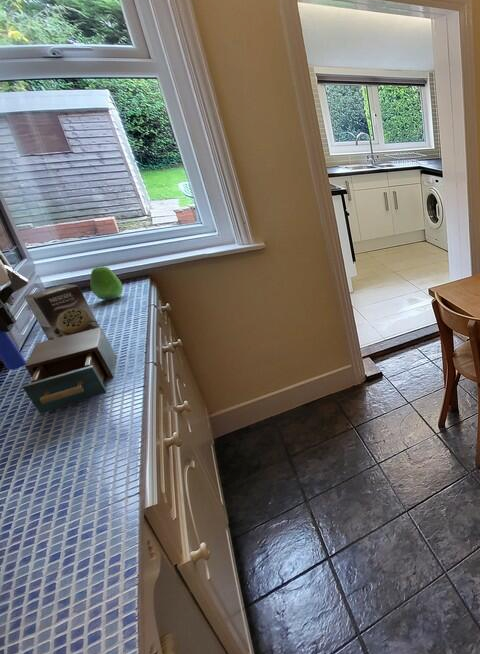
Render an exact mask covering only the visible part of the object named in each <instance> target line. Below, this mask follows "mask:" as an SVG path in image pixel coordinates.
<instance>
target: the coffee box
mask: <svg viewBox="0 0 480 654" xmlns="http://www.w3.org/2000/svg"><path fill="white" fill-rule="evenodd" d="M23 298H24V300H25V302H26V304H27V306H28V307H29V309H30V310H31V312H32V314H33V316H34V317H35V320H36V321H37V323H38V324H39V326H40V329H42V331H43V333H44V335H45V337H46V338H47V341H48V340H52V339H56V338H60V337H64V336H68V335H72V334H76V333H80V332H84V331H88V330H92V329H96V328H100V327H101V326H100V325H99V323H98V321H97V319H96V316H95V315H94V313H93V311H92V309H91V307H90V305H89V303H88V301H87V300H86V298H85V296H84V294H83V292H82V290H81V288H80V286H79V285H76V284H67V283H65V284H61V285H57V286H55V287H51V288H48V289H43V290H40V291H37V292H33V293H30V294H26V295H23Z"/></svg>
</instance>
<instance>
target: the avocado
mask: <svg viewBox="0 0 480 654" xmlns="http://www.w3.org/2000/svg"><path fill="white" fill-rule="evenodd" d="M89 284H90V285H89V287H90V290H91V291H92V293H93V295H94V296H95V297H97V298H98V299H100V300H103V301H111V300H112V301H113V300H115V299H118V298H119V297H120V296H121V295H122V293H123V283H122V281H121V280H120V279H119V277H118V276H117V275H116V274H115V273H114V272H113V271H112V270H111V268H109V267H107V266H96V267H94V268H93V269H92V270H91V273H90V280H89Z"/></svg>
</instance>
